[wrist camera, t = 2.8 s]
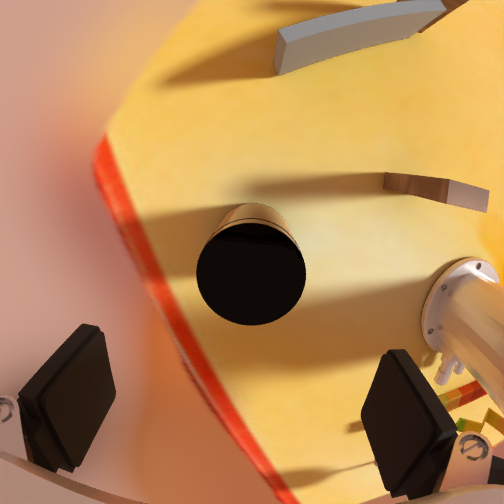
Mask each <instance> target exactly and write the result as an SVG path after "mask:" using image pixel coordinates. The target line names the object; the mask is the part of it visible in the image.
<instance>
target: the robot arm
mask: <svg viewBox="0 0 504 504" xmlns="http://www.w3.org/2000/svg"><path fill="white" fill-rule="evenodd" d="M421 327H422V333H423V336H424V339H425V340H426V342H427V343H428V345H429V346H430V347H431V348H432V349H433V350H435V351H437V352H439V353H443V354H442V356H441V360H442V364H441V366H440V367H439V369H438V371H437V373H436V375H435V377H434V381H435V383H437V384H439V385H445V384H446V383H447V381H448V379H449V377H450V375H451V372H452V368H453V366H455V367H454V370H453V371H454V372H455V373H456V374H462V372H463V369H464V367H466V369H467V370H468V371H469V372H470V373H471V374H472V376H473V377H474V378H475V379H476V380H477V382H478V383H479V384H480V385H481V386H482V388H483V389H484V390H485V391H486V393H487V394H488V395H489V396H490V397H491V399H492V400H493V401H494V403H495V404H496V405H497V406H498V408H499V409H500V410H501V411H502V413H503V414H504V287H503V286H502V285H500V282H499V277H498V274H497V272H496V270H495V269H494V267H493V266H492V265H491V264H490V263H488V262H487V261H485V260H483V259H481V258H476V257H471V258H465V259H463V260H460V261H458V262H456V263H455V264H453V265H452V266H451V267H449V268H448V269H447V270H446V271H445V272H444V273H443V274H442V275H441V276H440V277H439V278H438V280H437V281H436V283H435V284H434V286H433V287H432V289H431V291H430V293H429V295H428V297H427V299H426V302H425V305H424V308H423V312H422V319H421ZM18 395H19V398H18V399H17V401H16V400H15V399H14V398H13V397H11V396H9V395H5V394H0V504H147V503H143V502H139V501H135V500H131V499H127V498H124V497H120V496H117V495H113V494H110V493H107V492H104V491H101V490H98V489H95V488H92V487H89V486H87V485H84V484H81V483H78V482H76V481H73V480H70V479H68V478H65V477H63V476H60V475H58V474H56V472H57V470H58V468H61V469H63V470H66V471H68V472H71V473H73V471H74V469H75V467H79V466H80V465H81V463H82V461H83V459H84V457H85V455H86V453H87V451H88V449H89V447H90V445H91V443H92V441H93V439H94V437H95V436H96V434H97V432H98V430H99V428H100V426H101V424H102V422H103V420H104V418H105V416H106V414H107V413H108V411H109V409H110V407H111V405H112V403H113V401H114V399H115V396H116V390H115V386H114V381H113V377H112V372H111V368H110V363H109V358H108V352H107V347H106V342H105V336H104V333H103V332H102V331H100V329H99V327H98V326H93V325H88V324H81V325H80V326H79V327H78V328H77V329H76V330H75V331H74V332H73V333H72V335H71V336H70V337H69V338H68V339H67V340H66V341H65V342H64V343H63V344H62V345H61V346H60V347H59V348H58V350H56V351H55V353H54V354H53V355H52V356H51V357H50V358H49V359H48V360H47V361H46V362H45V363H44V365H43V366H42V367H41V368H40V369H39V370H38V371H37V373H36V374H35V375H34V376H33V377H32V378H31V379H30V380H29V382H28V383H27V384H26V385H25V386H24V387H23V388H22V390H21V391H20V392H19V393H18ZM361 420H362V423H363V425H364V428H365V431H366V434H367V437H368V440H369V442H370V445H371V448H372V451H373V454H374V457H375V460H376V463H377V466H378V469H379V472H380V475H381V478H382V481H383V484H384V487H385V489H386V490H387V491H390V493H391V496H392V498H395V497H399V496H403V495H407V497H408V501H406V502H402V503H397V504H504V459H502V458H499V457H496V456H493V455H492V453H493V452H492V445H491V443H490V441H489V440H488V439H487V438H486V437H485V436H484V435H483V434H480V433H478V432H474V431H466V432H463V433H461V434H460V435H459V436H458V434H457V433H456V431H457V429H458V427H457V426H456V424H455V423H454V421H453V419H452V418H451V416H450V415H449V413H448V412H447V410H446V408H445V407H444V405H443V404H442V402H441V401H440V399H439V398H438V396H437V395H436V393H435V392H434V390H433V389H432V387H431V386H430V384H429V383H428V381H427V380H426V378H425V377H424V376H423V374H422V373H421V371H420V370H419V368H418V367H417V365H416V364H415V363H414V361H413V360H412V358H411V357H410V355H409V354H408V353H407V351H406V350H405V349H394V350H388V351H387V353H386V354H383V356H382V357H381V360H380V363H379V366H378V369H377V371H376V374H375V377H374V380H373V382H372V385H371V387H370V390H369V393H368V395H367V398H366V400H365V403H364V405H363V407H362V410H361Z"/></svg>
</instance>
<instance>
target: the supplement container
mask: <svg viewBox="0 0 504 504" xmlns="http://www.w3.org/2000/svg"><path fill="white" fill-rule="evenodd" d="M196 277H197V284H198V288H199V291H200V293H201V295H202V297H203V299H204V301H205V302H206V303H207V305H208V306H209V307H210V308H211V309H212V310H213V311H214V312H215V313H216V314H218V315H219V316H221V317H222V318H224V319H226V320H228V321H231V322H233V323H237V324H241V325H262V324H267V323H270V322H273V321H275V320H277V319H279V318H281V317H282V316H284V315H285V314H287V313H288V312H289V311H290V310H291V309H292V308H293V307H294V306H295V305H296V303H297V302H298V300H299V299H300V297H301V295H302V292H303V290H304V286H305V281H306V268H305V263H304V259H303V257H302V254H301V251H300V249H299V247H298V245H297V243H296V241H295V240H294V238H293V236H292V234H291V232H290V230H289V228H288V226H287V224H286V222H285V220H284V219H283V217H282V216H281V215H280V214H279V213H278V212H277V211H276V210H274V209H273V208H271V207H269V206H266V205H263V204H258V203H249V204H244V205H241V206H238V207H236V208H234V209H233V210H231V211H230V212H229V213H228V214H227V215H226V216H225V217H224V219H223V220H222V222H221V223H220V225H219V226H218V228H217V229H216V231H215V232H214V234H213V235H212V236H211V237H210V238H209V240H208V241H207V243H206V245H205V247H204V248H203V250H202V252H201V254H200V257H199V260H198V264H197V271H196Z"/></svg>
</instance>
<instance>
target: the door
mask: <svg viewBox="0 0 504 504" xmlns="http://www.w3.org/2000/svg"><path fill="white" fill-rule="evenodd" d="M445 11H446V8H445V6H444V5H443V3H442V2H441V0H411V1H402V2H393V3H386V4H379V5H373V6H367V7H362V8H357V9H352V10H347V11H342V12H338V13H334V14H330V15H326V16H322V17H318V18H314V19H311V20H307V21H304V22H300V23H297V24H294V25H291V26H288V27H284V28H281V29H278V35H277V42H276V49H275V56H274V63H273V66H274V68H275V70H276V72H277V73H278V75H279V76H280V75H283V74H286V73H288V72H291V71H294V70H296V69H299V68H302V67H305V66H308V65H311V64H314V63H316V62H320V61H323V60H326V59H329V58H332V57H335V56H339V55H342V54H345V53H349V52H352V51H356V50H360V49H363V48H367V47H371V46H375V45H379V44H383V43H388V42H392V41H397V40H402V39H407V38H409V37H411V36H412V35H413V34H415V33H416V32H417V31H419V30H420V29H421V28H423V27H424V26H425V25H427V24H428V23H429V22H431V21H432V20H434V19H435V18H436V17H438V16H439V15H441V14H442V13H443V12H445Z"/></svg>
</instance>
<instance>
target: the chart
mask: <svg viewBox="0 0 504 504" xmlns="http://www.w3.org/2000/svg"><path fill="white" fill-rule="evenodd" d="M486 394H487V393H486V391H485V390H484V389H483V388H482V386H481V385H480V384H479V383H478V382H477V380H476V381H474V382H471V383H469V384H467V385H465V386H462V387H460V388H457V389H455V390H453V391H450V392H447V393H445V394H442V395H440V396H438V398H439V399H440V401H441V402H442V404H443V405H444V407H445V408H446V410H447V412H449V411H451V410H454V409H456V408H458V407H461V406H463V405H465V404H467V403H469V402H472V401H474V400H476V399H478V398H480V397H482V396H484V395H486ZM485 421H486V422H487V423H489V424H490V425H491V426H492V427H494V428H495V429H496V430H498V431H499V432H500V433H502V434H503V435H504V418H502V417H501V416H500V415H498V414H497V413H496V412H494V411H493V410H492V409H490V408H489V409H488V411H487V413H486V415H485V418H484V420H483V422H482V423H478V422H474V421H471V420H467V419H463V418H460V419H459V420H458V422H457V423H456V426H457V427H458V429H457V431H459V432H466V431H474V432H478V433H480V432H481V430H482V428H483V426H484V423H485Z"/></svg>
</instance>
